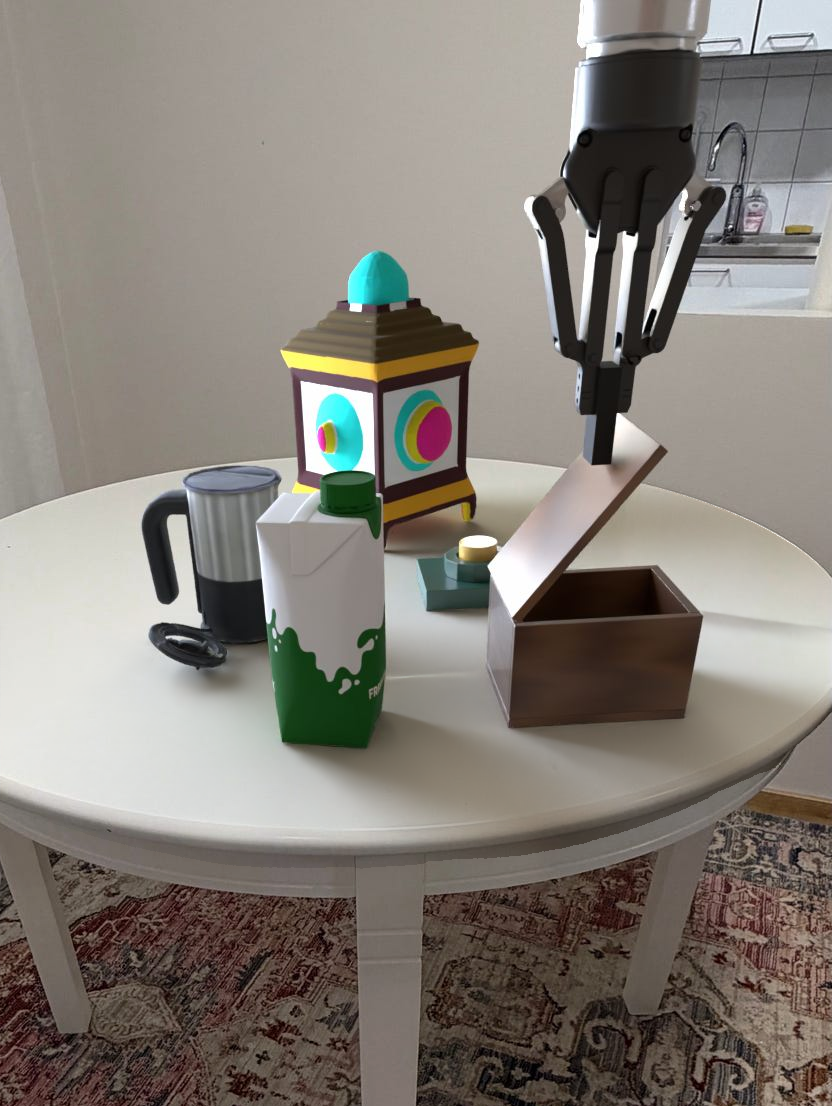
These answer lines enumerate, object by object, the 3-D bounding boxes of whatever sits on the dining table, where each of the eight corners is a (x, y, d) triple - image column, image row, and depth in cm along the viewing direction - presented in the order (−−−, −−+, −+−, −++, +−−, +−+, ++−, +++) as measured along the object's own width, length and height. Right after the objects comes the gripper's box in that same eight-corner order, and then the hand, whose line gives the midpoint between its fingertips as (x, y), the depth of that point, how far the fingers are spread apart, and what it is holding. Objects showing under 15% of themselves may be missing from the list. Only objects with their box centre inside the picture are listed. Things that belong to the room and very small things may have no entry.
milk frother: (287, 605, 102) (275, 460, 93) (306, 667, 89) (294, 505, 80) (153, 619, 100) (127, 472, 91) (153, 684, 87) (124, 520, 79)
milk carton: (375, 755, 75) (368, 495, 64) (266, 747, 77) (239, 493, 65) (394, 704, 82) (391, 461, 70) (293, 698, 84) (273, 460, 72)
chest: (643, 658, 88) (657, 564, 83) (684, 717, 78) (703, 616, 73) (485, 667, 87) (490, 573, 82) (508, 728, 78) (515, 626, 73)
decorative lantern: (275, 525, 125) (252, 255, 107) (384, 492, 135) (379, 241, 117) (380, 559, 112) (374, 261, 95) (491, 520, 123) (504, 245, 105)
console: (522, 572, 107) (525, 536, 105) (541, 605, 99) (544, 567, 97) (416, 577, 107) (416, 542, 105) (426, 611, 99) (426, 573, 97)
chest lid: (622, 415, 75) (615, 409, 75) (668, 451, 66) (661, 444, 66) (493, 571, 82) (487, 566, 82) (519, 623, 73) (511, 618, 73)
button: (493, 550, 103) (494, 534, 102) (499, 563, 99) (500, 546, 98) (456, 552, 102) (456, 536, 101) (461, 565, 99) (462, 548, 98)
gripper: (723, 52, 61) (666, 443, 75) (521, 62, 61) (501, 452, 74) (771, 40, 55) (699, 468, 69) (546, 50, 55) (520, 478, 68)
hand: (596, 460), depth 72 cm, fingers closed
